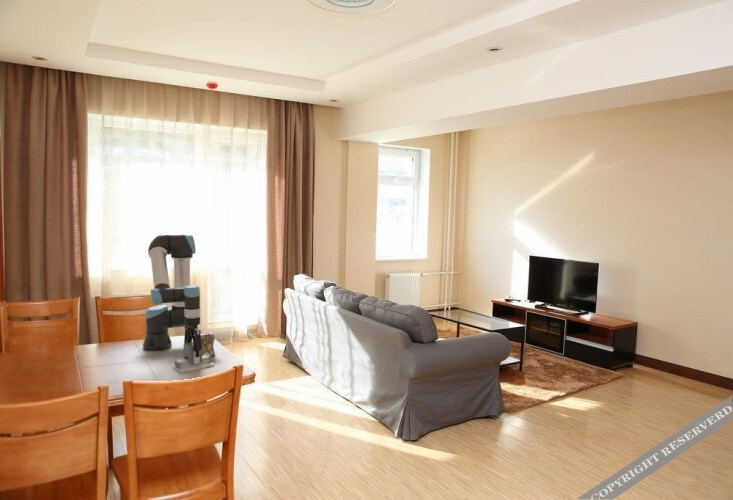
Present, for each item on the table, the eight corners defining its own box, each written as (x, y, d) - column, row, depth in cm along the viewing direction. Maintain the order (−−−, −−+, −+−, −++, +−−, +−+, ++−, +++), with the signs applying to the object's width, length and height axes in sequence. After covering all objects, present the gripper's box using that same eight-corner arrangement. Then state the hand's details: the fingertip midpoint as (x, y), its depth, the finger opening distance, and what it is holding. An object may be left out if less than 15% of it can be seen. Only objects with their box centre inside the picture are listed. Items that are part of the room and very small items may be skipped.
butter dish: (172, 367, 262) (171, 359, 261) (204, 360, 273) (204, 352, 273) (181, 372, 254) (180, 364, 253) (213, 365, 265) (213, 357, 265)
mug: (214, 352, 288) (214, 333, 287) (217, 357, 280) (217, 337, 279) (191, 354, 283) (191, 335, 282) (193, 359, 275) (193, 339, 274)
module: (183, 360, 264) (183, 342, 263) (195, 358, 268) (195, 340, 267) (190, 364, 258) (190, 346, 257) (202, 362, 262) (201, 344, 261)
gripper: (176, 314, 266) (177, 357, 268) (193, 321, 251) (194, 367, 253) (190, 312, 271) (191, 354, 273) (208, 319, 256) (209, 364, 258)
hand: (193, 360), depth 263 cm, fingers closed on module, 8 cm apart
